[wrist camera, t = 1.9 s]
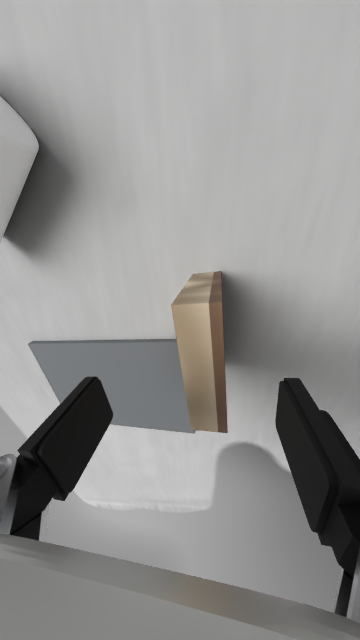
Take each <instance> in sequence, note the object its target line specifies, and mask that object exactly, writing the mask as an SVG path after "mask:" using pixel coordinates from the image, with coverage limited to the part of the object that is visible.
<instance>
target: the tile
mask: <svg viewBox="0 0 360 640" xmlns="http://www.w3.org/2000/svg"><path fill="white" fill-rule="evenodd" d="M171 307H172V313H173V319H174V326H175V332H176V338H177V344H178V350H179V357H180V363H181V369H182V375H183V382H184V388H185V394H186V400H187V406H188V413H189V419H190V425H191V429H192V430H202V431H212V432H222V433H228V431H227V406H226V381H225V356H224V332H223V308H222V284H221V271H219V272H209V273H199V274H193V275H192V276H191V278H190V279H189V280H188V282H187V283H186V285H185V286H184V288H183V289H182V290H181V292H180V293H179V295H178V296H177V298H176V299H175V300H174V302H173V303H172V305H171Z"/></svg>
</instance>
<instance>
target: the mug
mask: <svg viewBox="0 0 360 640" xmlns="http://www.w3.org/2000/svg"><path fill="white" fill-rule="evenodd" d="M38 149H39V144H38V141H37V139H36V137H35V135H34V133H33V132H32V130H31V129H30V128H29V126H28V125H27V124H26V123H25V121H24V120H23V119H22V118H21V117H20V116H19V115H18V113H17V112H16V111H15V110H14V109H13V108H12V107H11V106H10V105H9V104H8V103H7V102H6V101H5V100H4V99H3V98H2V97H1V96H0V243H1V240H2V238H3V235H4V233H5V230H6V228H7V225H8V223H9V221H10V218H11V216H12V213H13V211H14V208H15V206H16V203H17V201H18V199H19V196H20V194H21V191H22V189H23V186H24V184H25V181H26V179H27V177H28V174H29V172H30V169H31V167H32V164H33V162H34V159H35V157H36V155H37V152H38Z"/></svg>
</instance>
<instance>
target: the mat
mask: <svg viewBox="0 0 360 640" xmlns="http://www.w3.org/2000/svg"><path fill="white" fill-rule="evenodd" d="M28 345H29V347H30V349H31V350H32V352H33V354H34V356H35V358H36V360H37V362H38V363H39V365H40V367H41V369H42V371H43V373H44V374H45V376H46V378H47V380H48V382H49V384H50V385H51V387H52V389H53V391H54V393H55V395H56V396H57V398H58V400H59V402H60V404H61V403H62V402H63V401H64V399H65V398H66V397H67V396H68V395H69V394H70V393H71V392H72V391H73V390H74V389H75V388H76V386H77V385H78V384H79V383H80V382H81V381H82V380H83V379H84V378H85V377H98V378H99V379H100V380H101V382H102V385H103V388H104V390H105V393H106V395H107V398H108V401H109V403H110V406H111V409H112V411H113V419H112V421H111V423H110V424H112V425H121V426H130V427H140V428H149V429H158V430H167V431H177V432H186V433H195V430H192V429H191V425H190V419H189V413H188V406H187V400H186V394H185V388H184V382H183V375H182V369H181V363H180V357H179V350H178V344H177V339H150V340H88V341H32V342H30V343H29V344H28Z"/></svg>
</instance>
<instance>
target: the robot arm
mask: <svg viewBox="0 0 360 640" xmlns="http://www.w3.org/2000/svg"><path fill="white" fill-rule="evenodd" d="M112 419H113V411H112V409H111V406H110V403H109V401H108V398H107V395H106V393H105V390H104V388H103V385H102V382H101V380H100V379H99V378H98V377H85V378H84V379H83V380H82V381H81V382H80V383H79V384H78V385H77V386H76V388H75V389H74V390H73V391H72V392H71V393H70V394H69V395H68V396H67V397H66V398H65V399H64V401H63V402H62V403H61V404H60V405H59V406H58V407H57V408H56V409H55V410H54V411H53V413H52V414H51V415H50V416H49V417H48V418H47V419H46V420H45V421H44V422H43V423H42V424H41V426H40V427H39V428H38V429H37V430H36V431H35V432H34V433H33V434H32V435H31V436H30V437H29V439H28V440H27V441H26V442H25V443H24V444H23V445H22V446H21V447H20V448H19V449H18V452H19V453H20V455H19V456H18V457H16V456H15V455H13V454H7V455H4V456H1V457H0V640H360V459H359V458H358V456H357V455H356V453H355V452H354V450H353V449H352V447H351V446H350V444H349V443H348V441H347V440H346V438H345V437H344V435H343V434H342V432H341V431H340V429H339V428H338V426H337V425H336V423H335V422H334V420H333V419H332V417H331V416H330V415H329V414H328V413H327V412H326V411H324V410H319V409H318V407H317V405H316V404H315V402H314V401H313V399H312V397H311V396H310V394H309V393H308V391H307V389H306V388H305V386H304V385H303V383H302V381H301V380H300V379H299V378H284V381H280V384H279V393H278V403H277V412H276V428H277V432H278V435H279V438H280V441H281V443H282V446H283V449H284V452H285V455H286V458H287V461H288V464H289V467H290V470H291V473H292V476H293V479H294V482H295V485H296V488H297V491H298V494H299V496H300V499H301V502H302V505H303V508H304V511H305V514H306V517H307V520H308V523H309V526H310V528H311V530H312V531H313V532H316V533H318V536H319V539H320V542H321V544H322V545H326V546H331V547H332V549H333V551H334V554H335V557H336V559H337V562H338V563H339V565H340V566H341V567H342V569H341V574H340V578H339V583H338V587H337V591H336V596H335V601H334V605H333V609H332V612H329V611H325V610H323V609H319V608H316V607H313V606H310V605H307V604H303V603H299V602H295V601H291V600H288V599H284V598H280V597H276V596H272V595H268V594H265V593H261V592H257V591H253V590H249V589H245V588H241V587H237V586H233V585H228V584H224V583H220V582H216V581H212V580H207V579H203V578H199V577H195V576H190V575H186V574H182V573H178V572H173V571H169V570H165V569H160V568H156V567H152V566H148V565H143V564H139V563H134V562H130V561H126V560H121V559H117V558H113V557H108V556H104V555H100V554H95V553H90V552H86V551H82V550H78V549H73V548H69V547H64V546H59V545H54V544H51V543H46V532H47V520H48V507H49V502H50V501H51V499H52V497H53V498H54V499H56V500H61V501H65V499H66V498H67V496H68V494H69V493H70V492H71V491H72V490H73V489H74V488H75V486H76V484H77V482H78V480H79V479H80V477H81V475H82V473H83V471H84V470H85V468H86V466H87V464H88V462H89V461H90V459H91V457H92V455H93V453H94V452H95V450H96V448H97V446H98V444H99V442H100V441H101V439H102V437H103V435H104V433H105V432H106V430H107V428H108V426H109V424H110V423H111V421H112Z"/></svg>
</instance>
